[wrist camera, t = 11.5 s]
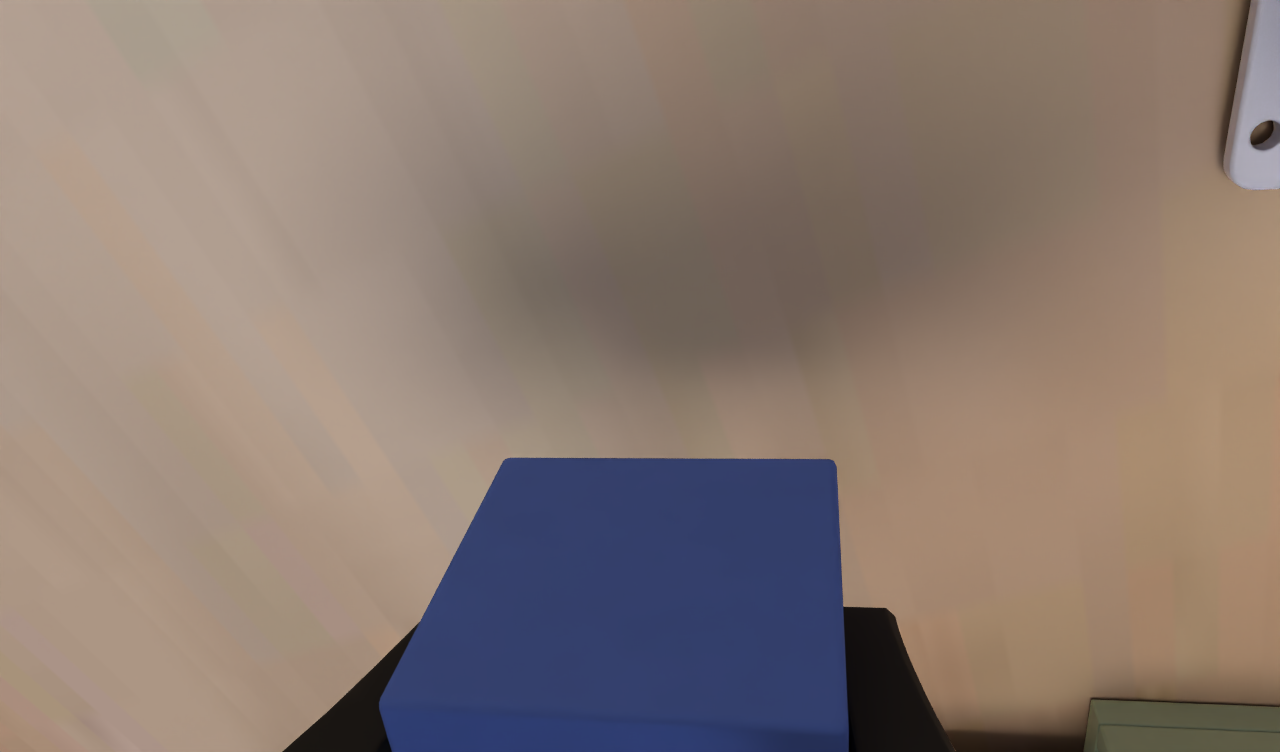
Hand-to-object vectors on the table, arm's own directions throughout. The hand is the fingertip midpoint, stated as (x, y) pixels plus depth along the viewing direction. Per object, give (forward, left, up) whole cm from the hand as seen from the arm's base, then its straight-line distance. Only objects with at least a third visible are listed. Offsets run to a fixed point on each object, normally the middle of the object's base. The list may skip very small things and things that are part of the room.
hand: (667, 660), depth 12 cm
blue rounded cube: (0, 0, -1) cm, 1 cm away
